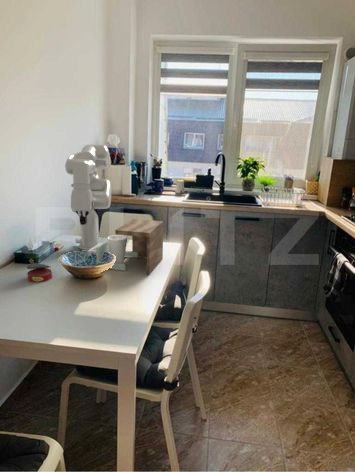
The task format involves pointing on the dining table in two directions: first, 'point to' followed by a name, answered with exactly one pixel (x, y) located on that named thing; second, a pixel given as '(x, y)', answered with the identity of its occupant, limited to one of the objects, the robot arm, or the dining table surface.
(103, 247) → the pull out rack
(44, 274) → the canned food
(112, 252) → the foam cup
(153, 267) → the counter shelf
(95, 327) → the dining table surface
